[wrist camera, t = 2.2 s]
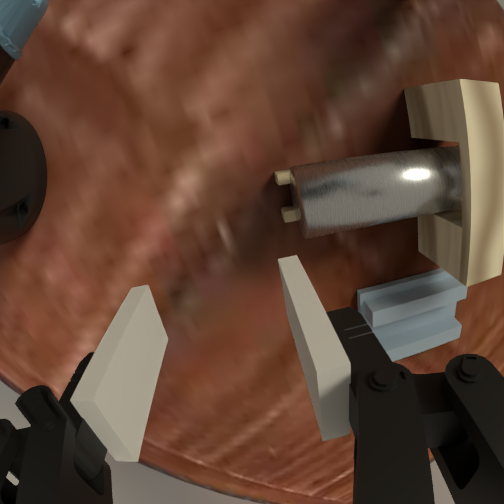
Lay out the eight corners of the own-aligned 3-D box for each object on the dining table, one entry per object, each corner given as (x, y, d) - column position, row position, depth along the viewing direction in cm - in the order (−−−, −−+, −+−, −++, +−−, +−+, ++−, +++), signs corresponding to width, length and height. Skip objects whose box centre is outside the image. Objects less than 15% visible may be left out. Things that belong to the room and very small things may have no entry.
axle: (296, 227, 30) (311, 249, 24) (286, 164, 28) (299, 170, 22) (459, 197, 30) (494, 210, 24) (456, 143, 28) (493, 147, 22)
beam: (292, 279, 34) (312, 330, 25) (260, 102, 27) (273, 86, 18) (515, 225, 33) (562, 248, 24) (510, 94, 27) (563, 95, 18)
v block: (358, 357, 38) (367, 374, 35) (356, 290, 35) (368, 305, 31) (448, 328, 38) (461, 342, 35) (455, 263, 34) (471, 274, 31)
